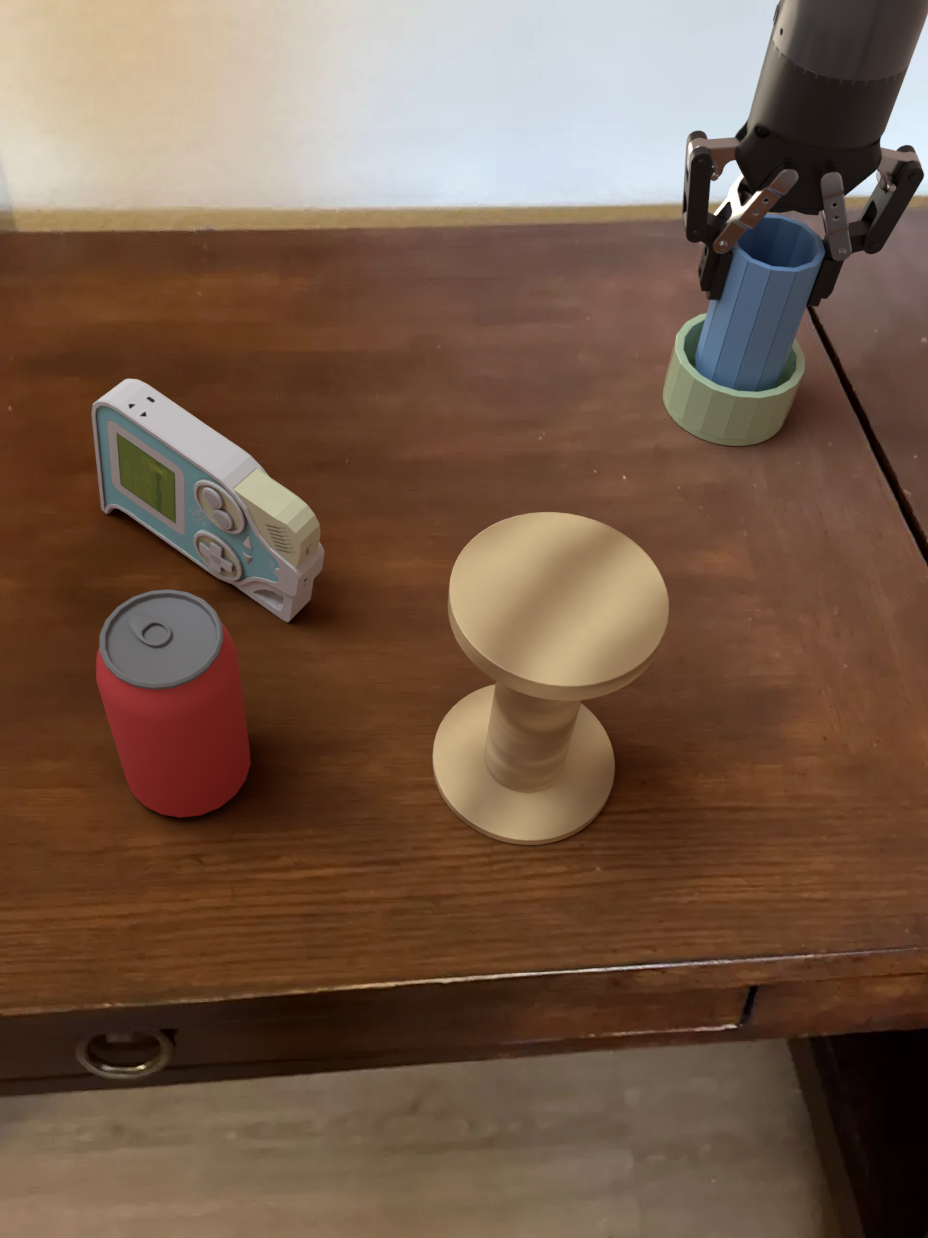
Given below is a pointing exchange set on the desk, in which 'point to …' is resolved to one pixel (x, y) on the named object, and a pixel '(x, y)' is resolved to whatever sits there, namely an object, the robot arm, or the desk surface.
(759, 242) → the blue cup
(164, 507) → the handheld gaming console
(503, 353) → the desk surface
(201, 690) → the beer can
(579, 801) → the stand
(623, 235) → the desk surface
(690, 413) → the green cup
